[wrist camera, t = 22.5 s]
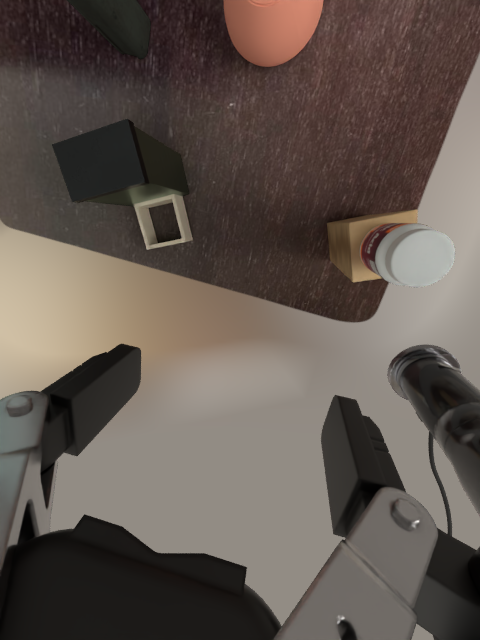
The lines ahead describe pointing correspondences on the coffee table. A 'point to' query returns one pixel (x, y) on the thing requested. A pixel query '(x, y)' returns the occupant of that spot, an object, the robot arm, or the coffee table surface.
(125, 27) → the candle
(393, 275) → the pill bottle
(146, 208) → the dock
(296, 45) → the sugar bowl
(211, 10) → the coffee table surface
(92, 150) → the dispenser
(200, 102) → the coffee table surface
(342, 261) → the stand
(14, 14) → the coffee table surface
